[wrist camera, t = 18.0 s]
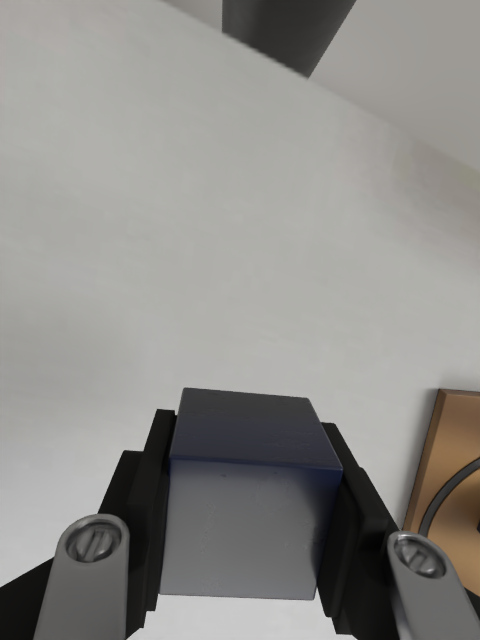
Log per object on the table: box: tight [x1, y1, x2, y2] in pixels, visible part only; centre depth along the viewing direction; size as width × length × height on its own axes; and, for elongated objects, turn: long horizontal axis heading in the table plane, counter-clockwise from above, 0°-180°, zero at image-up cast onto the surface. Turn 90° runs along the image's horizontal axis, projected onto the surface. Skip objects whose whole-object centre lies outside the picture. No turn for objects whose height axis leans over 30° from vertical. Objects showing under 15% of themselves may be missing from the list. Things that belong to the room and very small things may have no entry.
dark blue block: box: [158, 388, 343, 600], centre depth 10 cm, size 4×4×4 cm
